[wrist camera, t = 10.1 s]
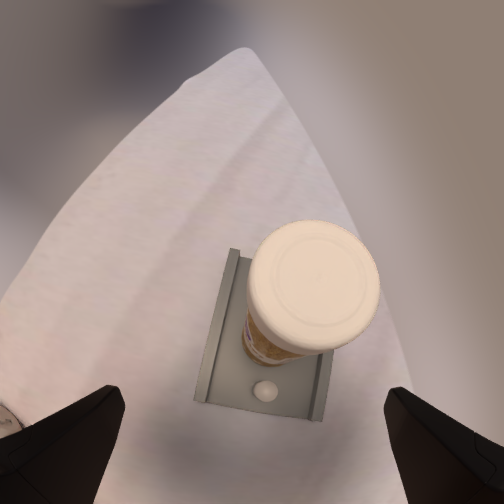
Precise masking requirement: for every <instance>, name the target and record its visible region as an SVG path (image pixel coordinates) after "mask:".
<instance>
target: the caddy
mask: <svg viewBox="0 0 504 504" xmlns="http://www.w3.org/2000/svg"><path fill="white" fill-rule="evenodd" d="M251 262H252V259H250V258H245V257H240V250H237V249H232V248H230V251H229V255H228V258H227V262H226V266H225V270H224V274H223V278H222V282H221V286H220V290H219V294H218V298H217V302H216V306H215V310H214V314H213V318H212V323H211V327H210V331H209V335H208V339H207V343H206V348H205V352H204V356H203V360H202V365H201V369H200V373H199V378H198V382H197V386H196V391H195V395H194V401H198V402H202V403H205V402H209V403H213V404H217V405H222V406H227V407H231V408H236V409H242V410H247V411H253V412H259V413H265V414H271V415H278V416H286V417H294V418H304V419H309V420H311V421H320V422H322V419H323V414H324V408H325V403H326V397H327V392H328V386H329V380H330V373H331V367H332V360H333V353H334V350H332V351H329V352H326V353H322V354H316V355H308V356H305V357H302V358H300V359H297V360H294V361H291V362H288V363H285V364H283V365H281V366H278V367H266V366H262V365H260V364H257V363H255V362H254V361H253V360H251V358H250V357H249V356H248V355H247V354H246V352H245V350H244V348H243V346H242V339H241V336H242V330H243V327H244V323H245V319H246V314H247V308H248V304H247V280H248V274H249V269H250V265H251Z"/></svg>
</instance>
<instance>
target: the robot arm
mask: <svg viewBox="0 0 504 504" xmlns="http://www.w3.org/2000/svg"><path fill="white" fill-rule="evenodd" d="M124 411H125V402H124V400H123V397H122V395H121V392H120V389H119V388H118V387H117V386H112V385H106V386H104V387H102V388H100V389H98V390H97V391H95V392H93V393H91V394H89V395H88V396H86V397H84V398H82V399H80V400H78V401H77V402H75V403H73V404H71V405H69V406H67V407H65V408H64V409H62V410H60V411H58V412H56V413H54V414H52V415H50V416H48V417H46V418H44V419H42V420H40V421H38V422H37V423H35V424H33V425H30V426H29V427H27V428H24V429H22V430H20V431H18V432H16V433H13V434H11V435H8V436H6V437H3V438H0V504H93V502H94V499H95V496H96V494H97V491H98V488H99V485H100V483H101V480H102V477H103V475H104V472H105V469H106V467H107V464H108V461H109V459H110V456H111V454H112V451H113V449H114V446H115V443H116V440H117V437H118V433H119V429H120V425H121V422H122V418H123V414H124ZM384 415H385V419H386V424H387V429H388V434H389V439H390V444H391V448H392V451H393V454H394V458H395V461H396V464H397V467H398V470H399V473H400V477H401V480H402V483H403V487H404V490H405V494H406V497H407V501H408V504H504V447H503V446H500V445H498V444H496V443H494V442H492V441H490V440H488V439H487V438H485V437H483V436H481V435H479V434H478V433H476V432H475V433H474V431H473V430H471V429H469V428H468V427H466V426H464V425H463V424H461V423H459V422H457V421H456V420H454V419H453V418H451V417H449V416H448V415H446V414H445V413H443V412H441V411H440V410H438V409H436V408H435V407H433V406H432V405H430V404H429V403H427V402H425V401H424V400H422V399H421V398H419V397H417V396H416V395H414V394H413V393H411V392H410V391H408V390H406V389H405V388H403V387H396V388H391V389H390V390H389V392H388V395H387V398H386V401H385V404H384Z"/></svg>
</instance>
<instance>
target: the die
mask: <svg viewBox="0 0 504 504" xmlns="http://www.w3.org/2000/svg"><path fill="white" fill-rule="evenodd" d="M20 430H22V428H21V426H20V424H19V423H18V421H17V419H16V418H15V417H14V416H13V414H11V413H10V412H9V411H8V410H7V409H5V408H4V407H2V406H1V405H0V438H3V437H6V436H8V435H11V434H13V433H16V432H18V431H20Z"/></svg>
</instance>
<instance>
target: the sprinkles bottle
mask: <svg viewBox="0 0 504 504" xmlns="http://www.w3.org/2000/svg"><path fill="white" fill-rule="evenodd" d="M379 299H380V278H379V274H378V270H377V267H376V265H375V262H374V260H373V258H372V256H371V254H370V253H369V251H368V250H367V248H366V247H365V246H364V245H363V244H362V242H361V241H360V240H359V239H358V238H356V237H355V236H354V235H353V234H352V233H350V232H349V231H347V230H345V229H344V228H342V227H340V226H337V225H335V224H332V223H329V222H325V221H319V220H300V221H296V222H292V223H289V224H286V225H284V226H282V227H280V228H278V229H276V230H275V231H274V232H272V233H271V234H270V235H269V236H267V237H266V238H265V239H264V240H263V242H262V243H261V244H260V246H259V247H258V249H257V251H256V252H255V254H254V257H253V259H252V262H251V265H250V269H249V274H248V280H247V304H248V308H247V314H246V319H245V323H244V327H243V330H242V336H241V339H242V346H243V348H244V350H245V352H246V354H247V355H248V356H249V357H250V358H251V360H253V361H254V362H255V363H257V364H260V365H262V366H266V367H278V366H281V365H283V364H285V363H288V362H291V361H294V360H297V359H300V358H302V357H305V356H308V355H316V354H322V353H326V352H329V351H332V350H334V349H337V348H339V347H342V346H344V345H346V344H348V343H349V342H351V341H353V340H354V339H356V338H357V337H358V336H359V335H360V334H362V333H363V331H364V330H365V329H366V328H367V327H368V326H369V324H370V323H371V321H372V319H373V318H374V316H375V313H376V311H377V308H378V304H379Z"/></svg>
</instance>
